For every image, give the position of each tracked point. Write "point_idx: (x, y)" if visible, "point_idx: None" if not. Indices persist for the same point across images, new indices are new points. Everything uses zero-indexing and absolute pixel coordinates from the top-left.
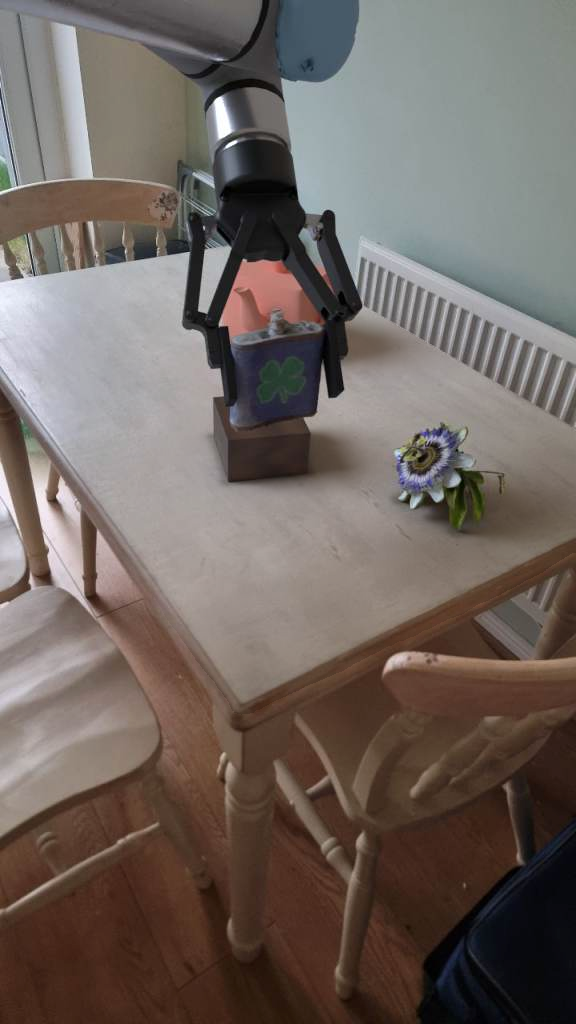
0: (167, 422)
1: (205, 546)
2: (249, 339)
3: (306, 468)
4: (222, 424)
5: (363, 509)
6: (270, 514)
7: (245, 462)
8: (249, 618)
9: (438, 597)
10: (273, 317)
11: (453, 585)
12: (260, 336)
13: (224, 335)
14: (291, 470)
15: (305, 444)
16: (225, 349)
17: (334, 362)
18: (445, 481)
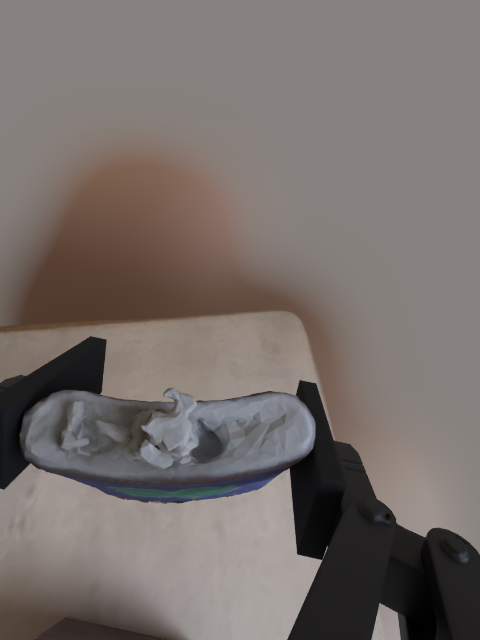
0: None
1: (274, 499)
2: (263, 428)
3: (64, 619)
4: None
5: (53, 489)
6: (173, 530)
7: None
8: (265, 378)
9: (88, 332)
10: (186, 420)
11: (63, 338)
12: (218, 455)
13: (330, 461)
14: (90, 625)
15: (50, 635)
16: (326, 437)
17: (72, 359)
18: None
